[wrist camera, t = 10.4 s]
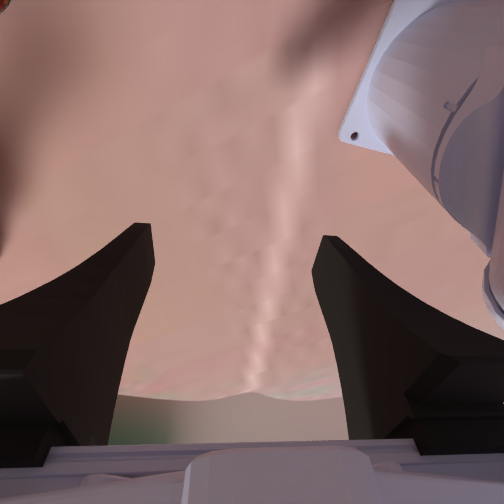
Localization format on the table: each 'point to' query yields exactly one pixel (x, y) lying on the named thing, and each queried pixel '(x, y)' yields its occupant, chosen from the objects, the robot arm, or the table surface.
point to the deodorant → (3, 4)
